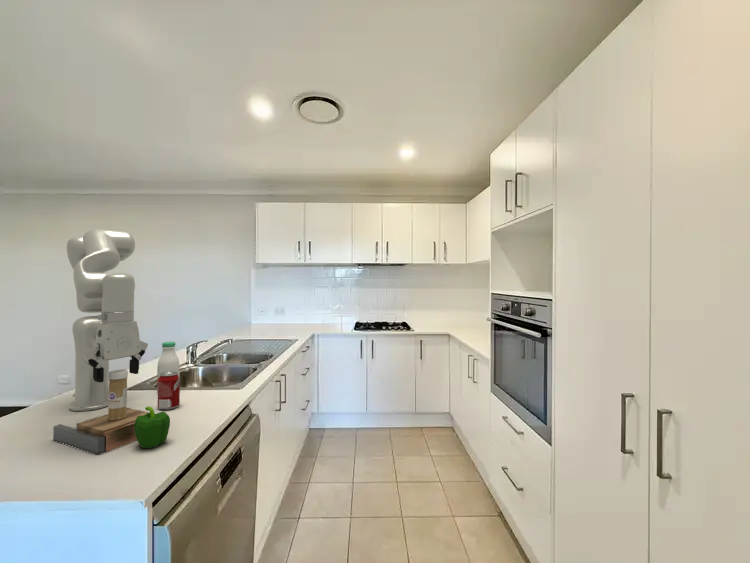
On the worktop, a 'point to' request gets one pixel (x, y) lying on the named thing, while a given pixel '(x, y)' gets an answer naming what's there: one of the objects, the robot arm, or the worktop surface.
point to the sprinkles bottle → (117, 394)
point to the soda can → (168, 390)
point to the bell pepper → (151, 428)
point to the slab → (108, 422)
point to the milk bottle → (167, 360)
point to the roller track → (94, 438)
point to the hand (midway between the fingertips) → (117, 377)
